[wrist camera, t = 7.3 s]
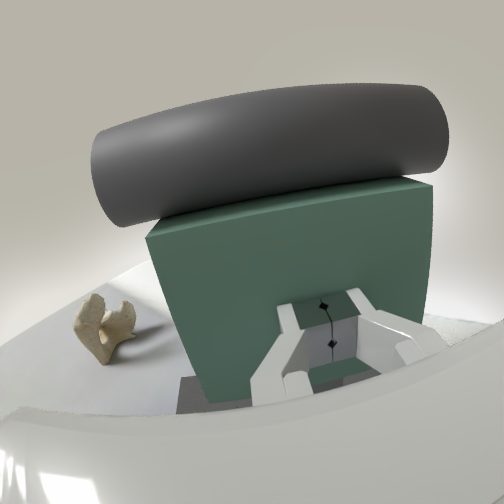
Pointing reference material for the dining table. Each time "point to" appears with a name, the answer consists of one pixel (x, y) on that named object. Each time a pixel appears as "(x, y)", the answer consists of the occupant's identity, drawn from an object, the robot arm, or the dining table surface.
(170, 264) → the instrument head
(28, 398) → the dining table surface
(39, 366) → the dining table surface
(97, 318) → the bone
